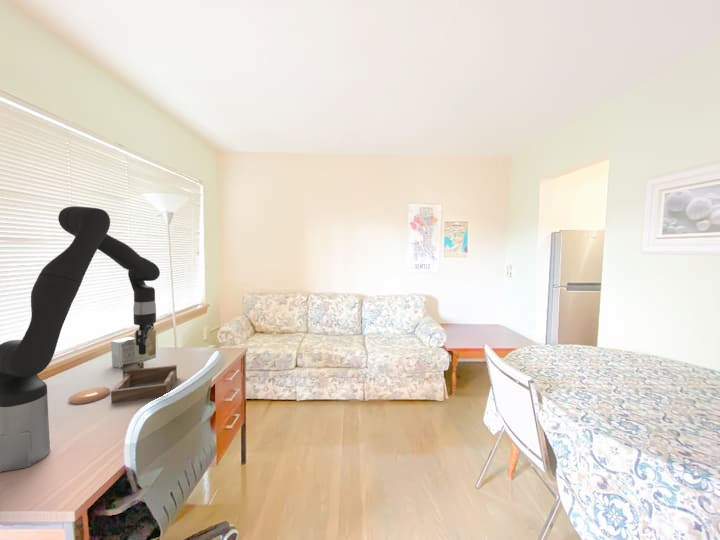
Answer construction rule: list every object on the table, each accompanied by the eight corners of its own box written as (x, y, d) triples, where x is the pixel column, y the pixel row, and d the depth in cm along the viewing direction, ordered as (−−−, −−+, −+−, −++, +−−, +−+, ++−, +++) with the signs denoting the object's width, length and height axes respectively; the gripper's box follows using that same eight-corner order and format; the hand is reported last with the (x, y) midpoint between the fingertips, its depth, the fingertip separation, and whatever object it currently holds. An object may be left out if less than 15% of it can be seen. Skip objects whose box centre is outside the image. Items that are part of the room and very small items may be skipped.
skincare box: (143, 362, 119) (142, 332, 119) (134, 361, 120) (133, 332, 120) (156, 357, 126) (156, 329, 125) (148, 356, 127) (147, 328, 126)
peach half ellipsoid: (101, 401, 114) (101, 398, 114) (61, 406, 110) (61, 403, 109) (115, 387, 125) (115, 385, 125) (79, 391, 121) (78, 389, 121)
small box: (129, 361, 155) (128, 336, 154) (137, 362, 153) (136, 337, 152) (111, 366, 147) (110, 340, 146) (120, 368, 145) (119, 342, 144)
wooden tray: (166, 395, 119) (166, 381, 118) (111, 403, 112) (110, 387, 112) (176, 377, 136) (176, 364, 135) (129, 383, 129) (128, 369, 129)
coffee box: (140, 378, 135) (139, 343, 134) (122, 380, 132) (121, 345, 131) (144, 370, 143) (143, 337, 142) (128, 372, 140) (127, 339, 139)
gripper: (150, 314, 117) (151, 355, 117) (160, 308, 130) (160, 345, 131) (127, 315, 114) (128, 357, 115) (139, 309, 127) (140, 346, 128)
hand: (145, 351), depth 123 cm, fingers closed on skincare box, 7 cm apart
